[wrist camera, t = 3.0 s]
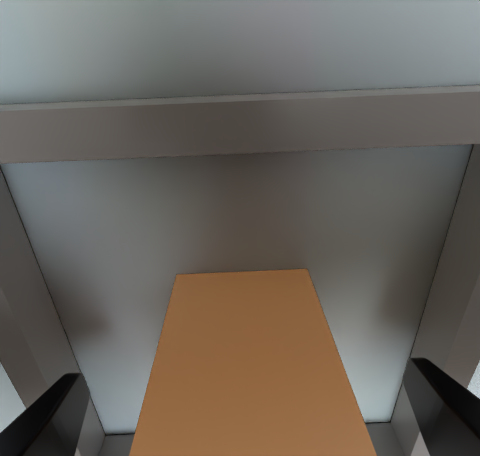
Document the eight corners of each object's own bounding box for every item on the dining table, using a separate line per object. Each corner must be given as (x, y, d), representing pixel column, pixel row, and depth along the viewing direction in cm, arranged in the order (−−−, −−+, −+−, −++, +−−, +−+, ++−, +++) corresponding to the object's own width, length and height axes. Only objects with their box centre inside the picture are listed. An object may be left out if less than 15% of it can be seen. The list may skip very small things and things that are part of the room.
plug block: (190, 364, 12) (124, 851, 4) (176, 274, 10) (24, 859, 3) (300, 359, 12) (411, 836, 4) (306, 268, 10) (516, 832, 3)
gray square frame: (87, 450, 14) (71, 491, 12) (-68, 107, 7) (-136, 116, 6) (409, 435, 14) (428, 475, 12) (534, 82, 7) (601, 86, 6)
